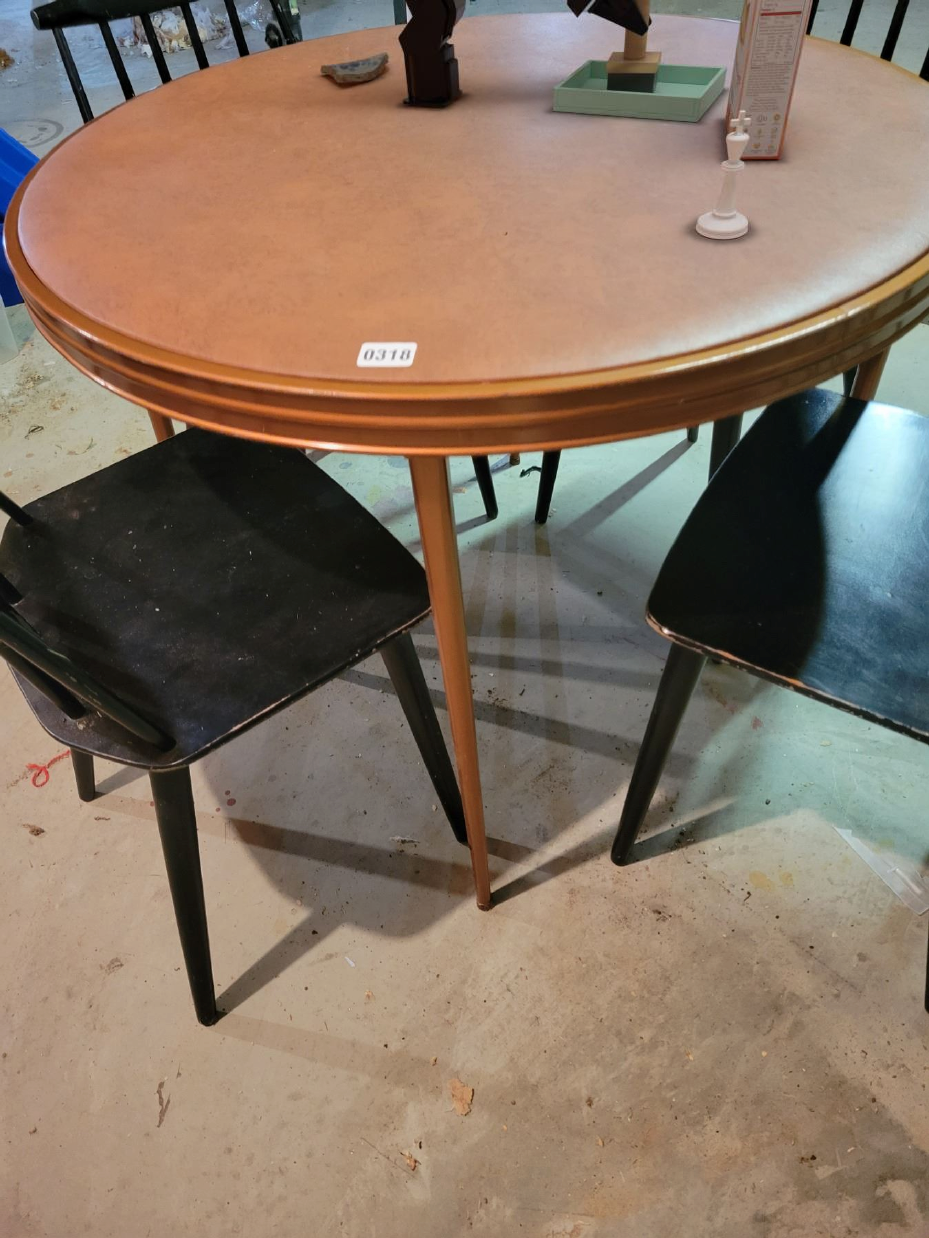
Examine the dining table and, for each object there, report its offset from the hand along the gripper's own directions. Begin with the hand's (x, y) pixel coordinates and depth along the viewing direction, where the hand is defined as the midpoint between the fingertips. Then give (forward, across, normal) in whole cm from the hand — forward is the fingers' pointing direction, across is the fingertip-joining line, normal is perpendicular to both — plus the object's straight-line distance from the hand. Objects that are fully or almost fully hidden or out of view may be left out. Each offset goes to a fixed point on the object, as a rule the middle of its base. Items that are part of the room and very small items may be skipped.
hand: (647, 29), depth 97 cm
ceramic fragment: (-26, +10, +37) cm, 46 cm away
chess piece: (+15, -39, -4) cm, 42 cm away
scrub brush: (+4, 0, +6) cm, 7 cm away
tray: (+5, 0, +6) cm, 8 cm away
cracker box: (+16, -14, -5) cm, 22 cm away
